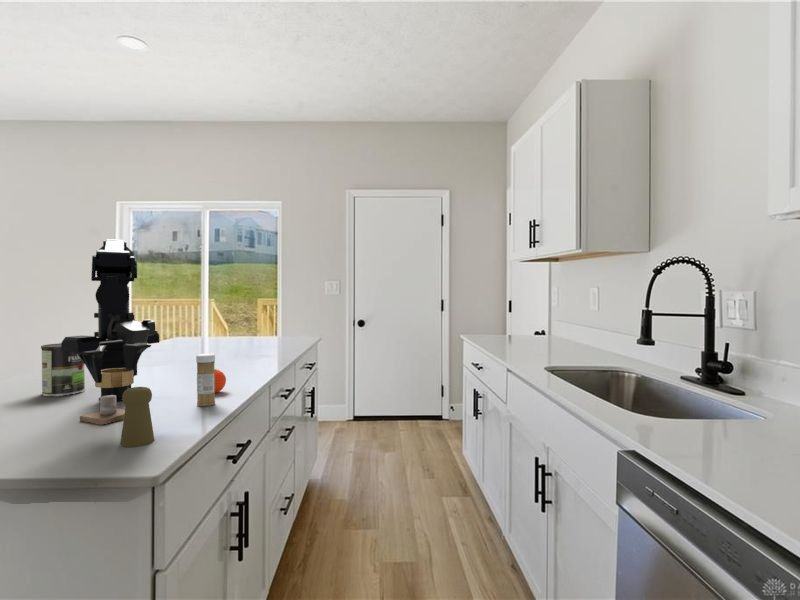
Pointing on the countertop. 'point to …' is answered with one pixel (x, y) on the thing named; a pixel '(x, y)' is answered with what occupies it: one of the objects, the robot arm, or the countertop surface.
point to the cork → (137, 418)
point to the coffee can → (61, 371)
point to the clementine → (219, 380)
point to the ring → (116, 377)
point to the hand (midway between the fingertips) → (114, 379)
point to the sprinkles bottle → (205, 379)
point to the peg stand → (105, 412)
